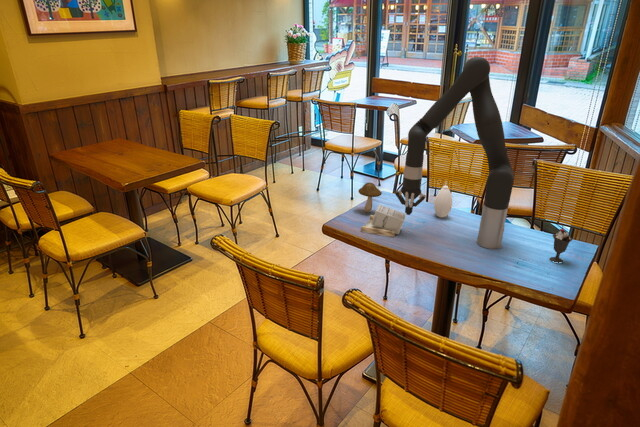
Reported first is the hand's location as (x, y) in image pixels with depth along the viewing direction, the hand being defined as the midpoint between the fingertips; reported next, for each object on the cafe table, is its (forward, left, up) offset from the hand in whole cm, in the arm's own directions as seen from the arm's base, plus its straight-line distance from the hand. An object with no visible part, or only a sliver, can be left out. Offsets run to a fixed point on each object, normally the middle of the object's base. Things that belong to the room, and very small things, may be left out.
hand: (408, 214), depth 183 cm
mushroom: (+21, -14, -9) cm, 27 cm away
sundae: (-59, +1, -9) cm, 59 cm away
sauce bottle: (-12, -23, -9) cm, 28 cm away
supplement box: (+2, 0, -5) cm, 5 cm away
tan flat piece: (+11, 0, -9) cm, 14 cm away
